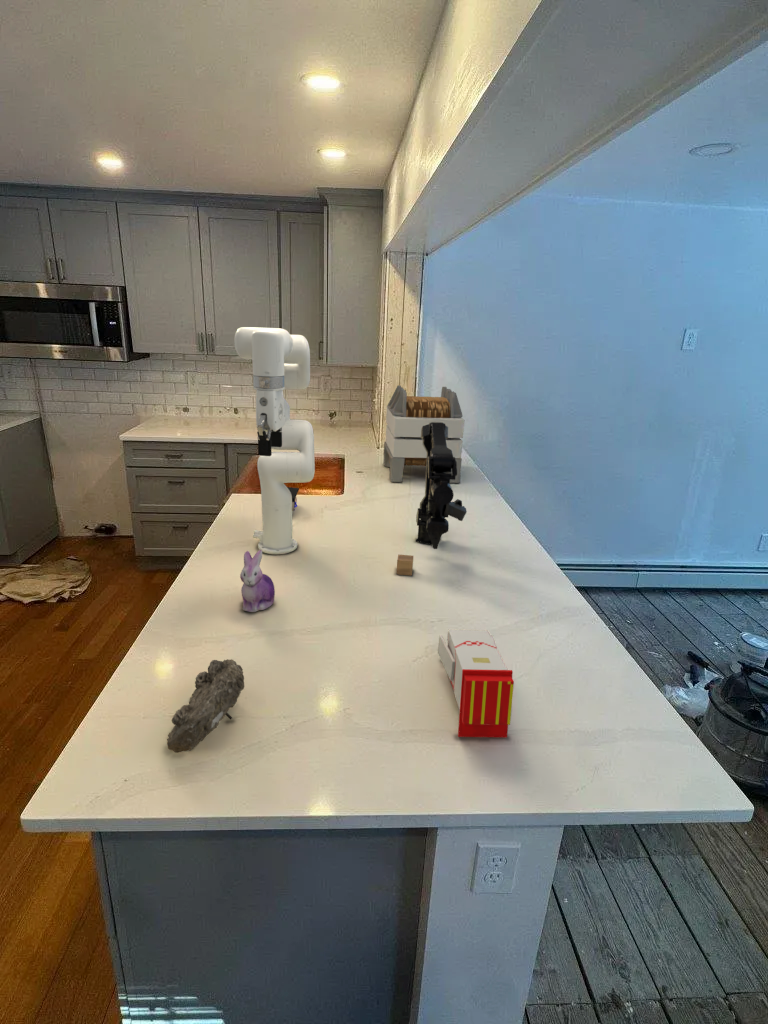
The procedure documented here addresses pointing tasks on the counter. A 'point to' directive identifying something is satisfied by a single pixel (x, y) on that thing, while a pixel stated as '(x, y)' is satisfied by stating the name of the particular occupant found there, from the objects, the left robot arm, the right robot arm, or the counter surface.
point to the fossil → (206, 705)
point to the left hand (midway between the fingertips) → (270, 451)
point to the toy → (478, 682)
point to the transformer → (419, 429)
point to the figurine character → (293, 496)
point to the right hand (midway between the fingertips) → (435, 542)
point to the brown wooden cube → (404, 565)
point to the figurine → (255, 584)
